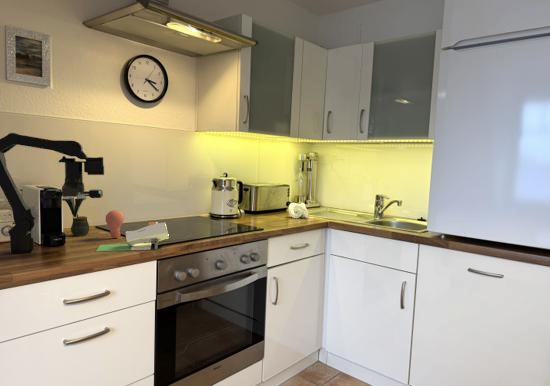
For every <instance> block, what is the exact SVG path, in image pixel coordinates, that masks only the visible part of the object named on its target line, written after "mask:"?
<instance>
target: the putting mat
mask: <svg viewBox="0 0 550 386" xmlns="http://www.w3.org/2000/svg"><path fill="white" fill-rule="evenodd" d="M157 223H158V221H151V222H150V221H149V222H148V226H149V225H152V224H157ZM158 245H159V241H158V242H154V250H158ZM151 249H152V242H151V243H139V244H135V245H133V246H130V247H129V246H128V244H127V243H120V244H119V243H116V244H114V243H113V244H100V245H99V246H98V247H97V249H96V250H95V253H96V252H98V253H100V252H101V253H102V252H122V251H124V252H126V251H148V250H151Z"/></svg>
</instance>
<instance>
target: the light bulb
mask: <svg viewBox="0 0 550 386" xmlns="http://www.w3.org/2000/svg"><path fill="white" fill-rule="evenodd" d="M124 220H125V218H124V214H123V213H122V212H121V211H120V210H119V211H118V210H116V209H114V210H113V209H112V210H111V211H109V212H107V214H106V216H105V222H106V225H107V226H108V228H109V231H110V238H112V239H117V238H119V237H121V232H120V231H121V227H122V226H123V223H124Z"/></svg>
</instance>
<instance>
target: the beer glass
mask: <svg viewBox="0 0 550 386" xmlns="http://www.w3.org/2000/svg"><path fill="white" fill-rule="evenodd" d="M169 238H170V236H169V232H168V226H167V222H166V221H164V222H157V224H152V225H149V224H148V225H147V226H144V227H141V228H138V229H136V230H127V231H125V239H126V244H128V246H129V247H130V246H133V245H135V244H141V243H151V244H152V243H155V242H158V243H159V242H161V241H165V240H168V239H169Z"/></svg>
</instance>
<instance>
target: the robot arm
mask: <svg viewBox="0 0 550 386" xmlns="http://www.w3.org/2000/svg"><path fill="white" fill-rule="evenodd" d="M17 145H18V146H24V147H29V148H36V149H43V150H49V151H54V152H56V153H59V154H62V155H63V156H62V158H60V159H59V160H58V163H64V183H63V185H62V186H61V190H60V189H59V188H58V189H54V188H53V189H47V190H45V191H44V193H43V199H55V198H56V197H57V198H58V197H62V199H61V201H62V202H63V201H65V203H66V204H67V205H68V207H69V210H70V212H71V215H72V218H73V217H77V214H78V213H79V212H80V211H79V210H80V207H81V206H82V203H83V201H85V200H87V197H89V198H91V199H101V198H103V196H104V194H103V193H104V191H103V190H102V189H96V188H95V189H94V188H93V189H89V191H85V183H84V182H83V181H84V180H83V179H84V178H83V171H84V173H86V174H87V176H104V175H105V165H104V157H103V156H99V157H90V156H89V157H88V156H87V154H86V153H85V152H84V151H83V145H82V144H81V143H80V142H78V141H76V140H61V139H60V140H54V139H52V140H51V139H48V138H47V139H46V138H41V137H35V136H29V135H23V134H20V133H16V132H9V133H8V134H7V135H5V136H3V137H1V138H0V188H1V190H2V193H3V194H4V197H5V198H6V200H7V202H8V204H9V206H10V208H11V210H12V218H13V221H14V225H13V226H12V228H10V229H9V230H8V231H7V234H8V235H9V240H10V241H9V243H10V244H9V245H10V252H9V255H14V254H25V253H32V252H33V251H34V247H35V244H34V237H33V236H32V230H33V229H34V228H36V226H37V225H38V224H39V219H38V218H39V214H37V212H36V210H35V207H34V206H32V207H29V206H28V205H27V203H25V201H24V198H23V197H22V194H21V193H20V190H19V188H17V186H16V183H15V181H14V180H13V177H12V175H11V173H10V172H9V170H8V167H7V159H6V155H5V154H6V153H7V152H9V151H10V150H12V149H13V148H14V147H16V146H17ZM65 155H66V156H69V157H66V156H65ZM74 157H75V158H74ZM76 158H77V159H79V161H78V160H76ZM81 160H82V161H81ZM83 160H84V161H83ZM75 197H76V198H75Z"/></svg>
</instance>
